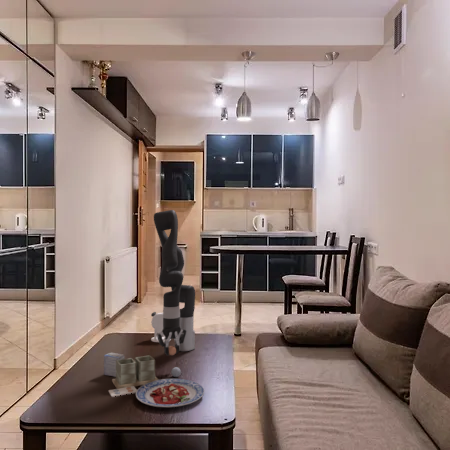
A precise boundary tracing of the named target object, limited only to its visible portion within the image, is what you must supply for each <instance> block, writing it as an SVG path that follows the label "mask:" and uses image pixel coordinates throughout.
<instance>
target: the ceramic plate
mask: <svg viewBox="0 0 450 450" xmlns="http://www.w3.org/2000/svg"><path fill="white" fill-rule="evenodd" d="M204 394H205V388H204V387H203V386H202V385H201V384H200V383H198V382H195V381H194V380H190V379H182V378H162V379H158V380H157V381H153V382H150V383H147V384H145V385H140V387H138V389H137V391H136V393H135V398H136V399H137V400H138V401H139V402H141V403H142V404H145V405H147V406H151V407H156V408H175V407H176V408H177V407H183V406H187V405H191V404H192V403H195V402H198V401H199V400H200V399H202V397H203V396H204ZM183 401H184V402H183ZM179 402H181V403H179ZM176 403H178V404H176Z"/></svg>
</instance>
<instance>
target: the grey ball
mask: <svg viewBox="0 0 450 450" xmlns="http://www.w3.org/2000/svg"><path fill="white" fill-rule="evenodd" d="M181 372H182V371H181V369H180V367H177V366H176V367H173V368H172V369H171V371H170V373H171V376H173V377H174V378H178V377H180V375H181V374H182V373H181Z"/></svg>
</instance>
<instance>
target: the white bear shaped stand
mask: <svg viewBox="0 0 450 450" xmlns="http://www.w3.org/2000/svg"><path fill="white" fill-rule="evenodd" d="M151 317H152V318H151V322H150V323H151V326H152V328H153V329H154V333H153V336H154V337H151V339H150V341H151V342H154V343H159V340H158V338H157V335H156V334H157V333H160V332H162V330H163V312H156V311H153V312H152V313H151ZM164 339H165V336H164V334H163V337H162V340H163V342H164V341H165V340H164ZM171 340H172V339H170V341H171Z"/></svg>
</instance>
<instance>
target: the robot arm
mask: <svg viewBox="0 0 450 450" xmlns="http://www.w3.org/2000/svg"><path fill="white" fill-rule="evenodd" d="M153 222H154V227H155V229H156V233H157V235H158V238H159V241H160V245H161V269H160V274H159V278H158V282H159V285H160V286H161V287H162V288H170V289H171V291H167V292H165V293H163V300H162V301H163V303H162V305H163V307H162V313H163V330H162V332H160V333H157V334H156V335H157V338H158V340H159V342H158V343H159V345H160V346H161V347H163V352H164V354H165V355H166V356H170V355H169V347H170V345H169V344H170V341H171V340H174V347H175V348H176V353H175V354H176V355H178V354H179V353H180V352H188V351H189V352H190V351H192V350H196V349H195V348H196V344H195V343H196V331H195V329H194V322H195V321H194V314H195V309H196V308H195V304H196V290H195V287H194V286H193V285H188V284H183V282H184V274H183V273H182V271H183V269H184V265H185V259H184V254H183V252H182V249H181V248H180V247H179V245H178V233H179V232H178V231H179V220H178V215H177V212H176V211H175V210H174V209H170V210H169V209H168V210H163V211H162V210H161V211H157V212H155V213H154V214H153ZM169 230H170V232H169V235H167V233H166V231H169ZM180 303H181V304H184V307H183V308H180ZM163 334H164V336H165V339H164V340H165V341H164V342H163V340H162V337H163ZM170 339H171V340H170Z"/></svg>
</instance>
